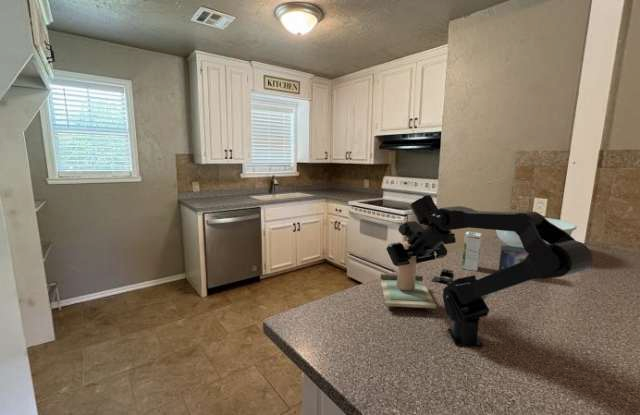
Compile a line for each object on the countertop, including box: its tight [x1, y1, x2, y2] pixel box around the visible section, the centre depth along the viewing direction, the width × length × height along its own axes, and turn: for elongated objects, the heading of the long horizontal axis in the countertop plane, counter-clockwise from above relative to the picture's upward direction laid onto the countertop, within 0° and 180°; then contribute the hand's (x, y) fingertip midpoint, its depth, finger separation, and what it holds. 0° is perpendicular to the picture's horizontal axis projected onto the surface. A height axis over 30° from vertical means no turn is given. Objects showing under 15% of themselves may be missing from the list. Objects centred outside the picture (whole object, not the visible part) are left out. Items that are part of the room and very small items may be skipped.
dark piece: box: [431, 268, 455, 285], centre depth 108 cm, size 12×7×5 cm, turn 58°
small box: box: [498, 244, 528, 271], centre depth 112 cm, size 11×6×10 cm, turn 62°
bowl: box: [495, 217, 578, 248], centre depth 140 cm, size 32×32×15 cm
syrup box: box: [461, 231, 483, 272], centre depth 119 cm, size 6×6×14 cm
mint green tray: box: [380, 273, 437, 313], centre depth 94 cm, size 18×14×4 cm
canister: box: [396, 240, 417, 290], centre depth 93 cm, size 6×6×14 cm
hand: (403, 263), depth 94 cm, fingers closed on canister, 5 cm apart
